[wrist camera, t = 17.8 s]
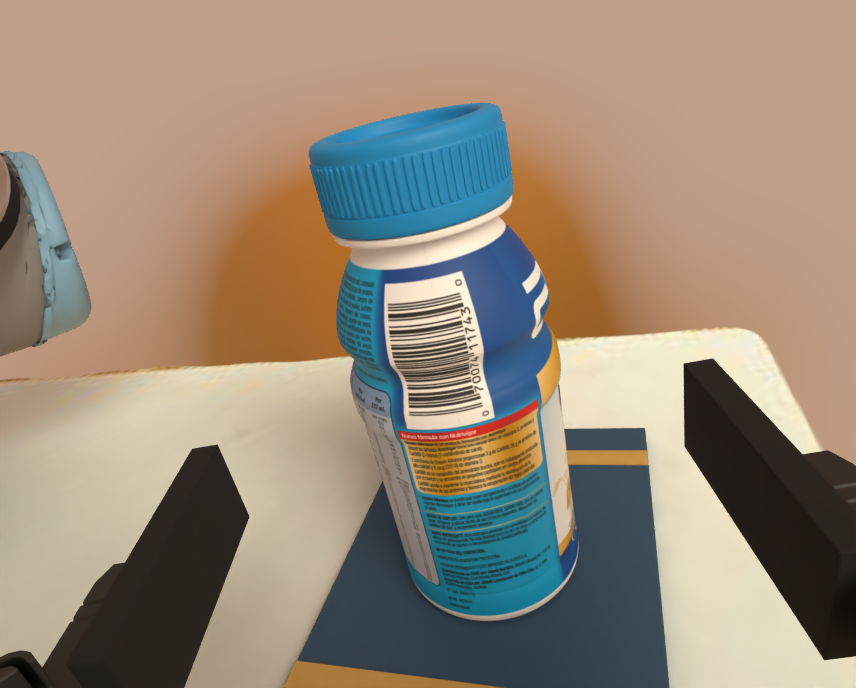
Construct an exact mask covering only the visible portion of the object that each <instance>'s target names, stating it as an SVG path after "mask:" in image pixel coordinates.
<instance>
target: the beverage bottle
mask: <svg viewBox="0 0 856 688" xmlns="http://www.w3.org/2000/svg"><path fill="white" fill-rule="evenodd" d="M309 158H310V162H311V165H310V169H311V173H312V177H313V180H314V184H315V187H316V191H317V194H318V198H319V201H320V204H321V208H322V212H324V217H325V221H326V224H327V227H328V229H329V231H330V232H331V233H332V234H333V237H334V240H335V241H336V242H337V243H339V244H340V245H343V246H346V247H352V252H351V254H350V257H349V259H348V262H347V265H346V268H345V271H344V274H343V277H342V281H341V285H340V290H339V294H338V300H337V314H336V316H337V317H336V324H337V334H338V338H339V341H340V344H341V345H342V347H343V349H344V350H345V351H346V352H347V353H348V354H349V355H350V356H351V357H352V358H354V362H353V366H352V371H351V377H350V382H351V390H352V395H353V399H354V402H355V405H356V408H357V411H358V413H359V415H360V416H361V418H362V419H363V421H364V422H365V425H366V429H367V432H368V435H369V438H370V441H371V444H372V448H373V451H374V454H375V457H376V460H377V464H378V467H379V470H380V473H381V476H382V479H383V483H384V486H385V489H386V492H387V495H388V499H389V502H390V505H391V508H392V511H393V515H394V518H395V521H396V524H397V528H398V531H399V534H400V538H401V541H402V544H403V548H404V551H405V556H406V560H407V564H408V567H409V570H410V574H411V576H412V579H413V581H414V583H415V584H416V586H417V588H418V589H419V591H420V592H421V593H422V594H423V595H424V596H425V597H426V598H427V599H428V600H429V601H430V602H431V603H432V604H434V605H435V606H436V607H438V608H440V609H441V610H443V611H445V612H447V613H449V614H452V615H454V616H457V617H461V618H465V619H470V620H477V621H497V620H505V619H510V618H514V617H517V616H521V615H523V614H526V613H528V612H531V611H533V610H535V609H537V608H539V607H540V606H542V605H543V604H545V603H546V602H548V601H549V600H550V599H552V598H553V597H554V596H555V595H556V594H557V593H558V592H559V591H560V590H561V589H562V588H563V586H564V585H565V584H566V582H567V581H568V579H569V578H570V576H571V574H572V572H573V570H574V567H575V565H576V561H577V557H578V548H579V543H578V533H577V526H576V521H575V517H574V508H573V501H572V493H571V485H570V477H569V468H568V459H567V450H566V442H565V433H564V424H563V415H562V406H561V397H560V388H559V380H560V375H561V362H560V354H559V349H558V345H557V341H556V338H555V336H554V334H553V332H552V331H551V329H550V328H549V327H548V325H547V324H546V323H545V322H544V321H543V317H544V315H545V313H546V311H547V308H548V304H549V291H548V288H547V284H546V281H545V279H544V276H543V274H542V272H541V270H540V268H539V266H538V264H537V262H536V260H535V259H534V257H533V256H532V254H531V253H530V251H529V250H528V248H527V247H526V246H525V244H524V243H523V242H522V241H521V239H520V238H519V237H518V236H517V235H516V234H515V233H514V231H513V230H512V229H511V228H510V227H509V226H508V225H507V224H506V223H505V222H504V221H503V220H501V219H500V217H499V215H501V214H502V213H503V212H505V211H506V210H507V209H508V208H509V206H510V205H511V203H512V193H513V179H512V173H511V171H512V169H511V161H510V155H509V147H508V140H507V133H506V125H505V122H504V121H503V120H502V114H501V110H500V108H499V107H498V106H497V105H495V104H491V103H472V104H463V105H455V106H448V107H442V108H436V109H431V110H426V111H421V112H416V113H411V114H407V115H402V116H397V117H393V118H389V119H385V120H381V121H377V122H373V123H369V124H366V125H362V126H359V127H355V128H352V129H348V130H345V131H342V132H339V133H336V134H333V135H331V136H328V137H326V138H323V139H321V140H319V141H317V142H316V143H314V144H313V145H312V146H311V147H310V149H309Z"/></svg>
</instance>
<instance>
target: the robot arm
mask: <svg viewBox="0 0 856 688" xmlns="http://www.w3.org/2000/svg"><path fill="white" fill-rule="evenodd" d="M90 311H91V301H90V297H89V293H88V289H87V286H86V283H85V280H84V277H83V274H82V271H81V268H80V265H79V263H78V260H77V257H76V255H75V252H74V250H73V249H72V247H71V242H70V239H69V236H68V234H67V230H66V227H65V224H64V222H63V219H62V216H61V214H60V211H59V209H58V206H57V203H56V201H55V199H54V196H53V194H52V191H51V189H50V186H49V184H48V181H47V179H46V177H45V175H44V172H43V170H42V168H41V166H40V164H39V162H38V161H37V159H36V158H35V157H34V156H33V155H31V154H28V153H26V152H14V153H13V152H10V151H4V152H0V356H3V355H6V354H9V353H12V352H15V351H18V350H21V349H24V348H27V347H30V346H32V347H36V346H39V345H42V344H44V343H45V342H47V340H48V339H50V338H52V337H55V336H57V335H60V334H62V333H65V332H67V331H70V330H72V329H75V328H77V327H79V326H80V325H82V324H83V323H84V322H85V321H86V320H87V318H88V317H89V314H90ZM684 436H685V448H686V449H687V451H688V452H689V454H690V455H691V457H692V458H693V460H694V461H695V463H696V464H697V466H698V468H699V469H700V471H701V472H702V474H703V475H704V477H705V478H706V480H707V481H708V483H709V484H710V486H711V487H712V489H713V491H714V492H715V494H716V495H717V497H718V498H719V500H720V501H721V503H722V504H723V506H724V507H725V509H726V510H727V512H728V513H729V515H730V517H731V518H732V520H733V521H734V523H735V524H736V526H737V527H738V529H739V530H740V532H741V533H742V535H743V536H744V538H745V539H746V541H747V543H748V544H749V546H750V547H751V549H752V550H753V552H754V553H755V555H756V556H757V558H758V559H759V561H760V562H761V564H762V566H763V567H764V569H765V570H766V572H767V573H768V575H769V576H770V578H771V579H772V581H773V582H774V584H775V585H776V587H777V588H778V590H779V592H780V593H781V595H782V596H783V598H784V599H785V601H786V602H787V604H788V605H789V607H790V608H791V610H792V611H793V613H794V614H795V616H796V618H797V619H798V621H799V622H800V624H801V625H802V627H803V628H804V630H805V631H806V633H807V634H808V636H809V637H810V639H811V641H812V642H813V644H814V645H815V647H816V648H817V650H818V651H819V653H820V654H821V656H822V657H823V659H824V660H830V659H837V658H845V657H853V656H856V466H855V465H854V464H853V463H851V462H849V461H847V460H845V459H843V458H841V457H839V456H837V455H836V454H834V453H832V452H830V451H821V452H815V453H809V454H802V453H801V452H800V451H799V450H798V449H797V448H796V447H795V446H794V445H793V444H792V443H791V442H790V441H789V439H788V438H787V437H786V436H785V435H784V434H783V433H782V432H781V431H780V430H779V429H778V428H777V427H776V426H775V424H774V423H773V422H772V421H771V420H770V419H769V418H768V417H767V416H766V415H765V414H764V413H763V412H762V411H761V409H760V408H759V407H758V406H757V405H756V404H755V403H754V402H753V401H752V400H751V399H750V398H749V397H748V396H747V394H746V393H745V392H744V391H743V390H742V389H741V388H740V387H739V386H738V385H737V384H736V383H735V382H734V381H733V379H732V378H731V377H730V376H729V375H728V374H727V373H726V372H725V371H724V370H723V369H722V368H721V367H720V366H719V364H718V363H717V362H716V361H715V360H714V359H707V360H701V361H696V362H690V363H684ZM248 519H249V515H248V512H247V510H246V508H245V506H244V503H243V501H242V499H241V496H240V494H239V492H238V490H237V487H236V485H235V483H234V481H233V478H232V476H231V474H230V472H229V469H228V467H227V465H226V463H225V460H224V458H223V456H222V454H221V451H220V449H219V447H218V445H212V446H206V447H201V448H195V449H192V450H191V452H190V454H189V455H188V457H187V459H186V460H185V462H184V464H183V465H182V467H181V469H180V471H179V472H178V474H177V476H176V477H175V479H174V481H173V482H172V484H171V486H170V487H169V489H168V491H167V493H166V494H165V496H164V498H163V499H162V501H161V503H160V504H159V506H158V508H157V509H156V511H155V513H154V515H153V516H152V518H151V520H150V521H149V523H148V525H147V526H146V528H145V530H144V532H143V533H142V535H141V537H140V538H139V540H138V542H137V543H136V545H135V547H134V548H133V550H132V552H131V554H130V555H129V557H128V559H127V560H126V562H125V563H120V564H114V565H113V566H112V567H111V568H110V569H109V570H108V571H107V572H106V573H105V574H104V575H103V576H102V577H101V578H100V579H98V580H97V581H96V582H95V584H94V585H93V587H92V589H91V590H90V592H89V594H88V595H87V597H86V598H85V600H84V602H83V606H80V608H79V610H78V611H77V613H76V614H75V616H74V618H73V619H74V620H73V622H70V624H69V626H68V627H67V629H66V630H65V632H64V634H63V635H62V637H61V638H60V640H59V642H58V643H57V645H56V646H55V648H54V650H53V651H52V653H51V654H50V656H49V658H48V659H47V661H46V662H45V664H44V666H43V667H41V665H40V664H39V663H38V662H37V660H36V659H35V658H34V656H33V655H32V654H31V652H27V651H16V652H12V653H8V654H6V655H4V656H2V657H0V688H184V687H185V684H186V682H187V679H188V676H189V674H190V671H191V669H192V666H193V663H194V661H195V658H196V656H197V653H198V650H199V648H200V645H201V642H202V640H203V637H204V635H205V632H206V629H207V627H208V624H209V621H210V619H211V616H212V614H213V611H214V608H215V606H216V603H217V600H218V598H219V595H220V593H221V590H222V587H223V585H224V582H225V579H226V577H227V574H228V572H229V569H230V566H231V564H232V561H233V558H234V556H235V553H236V551H237V548H238V545H239V543H240V540H241V537H242V535H243V532H244V530H245V527H246V524H247V522H248Z"/></svg>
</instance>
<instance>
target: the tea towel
mask: <svg viewBox="0 0 856 688" xmlns="http://www.w3.org/2000/svg"><path fill="white" fill-rule="evenodd" d="M564 433H565V442H566V450H567V459H568V468H569V477H570V485H571V493H572V501H573V508H574V517H575V521H576V526H577V533H578V543H579V548H578V557H577V561H576V565H575V567H574V570H573V572H572V574H571V576H570V578H569V579H568V581H567V582H566V584H565V585H564V586H563V588H562V589H561V590H560V591H559V592H558V593H557V594H556V595H555V596H554V597H553V598H552V599H550V600H549V601H548V602H546V603H545V604H543V605H542V606H540V607H539V608H537V609H535V610H533V611H531V612H528V613H526V614H523V615H521V616H517V617H514V618H510V619H505V620H497V621H477V620H470V619H465V618H461V617H457V616H454V615H452V614H449V613H447V612H445V611H443V610H441V609H440V608H438V607H436V606H435V605H434V604H432V603H431V602H430V601H429V600H428V599H427V598H426V597H425V596H424V595H423V594H422V593H421V592H420V591H419V589H418V588H417V586H416V584H415V583H414V581H413V579H412V576H411V574H410V570H409V567H408V564H407V560H406V556H405V551H404V548H403V544H402V541H401V538H400V534H399V531H398V528H397V524H396V521H395V518H394V515H393V511H392V508H391V505H390V502H389V499H388V495H387V492H386V489H385V486H384V483H383V482H382V484H381V486H380V488H379V490H378V492H377V494H376V496H375V498H374V501H373V503H372V505H371V507H370V509H369V511H368V513H367V515H366V517H365V520H364V522H363V524H362V526H361V528H360V530H359V532H358V534H357V536H356V538H355V541H354V543H353V545H352V547H351V549H350V551H349V553H348V555H347V557H346V560H345V562H344V564H343V566H342V568H341V570H340V572H339V574H338V576H337V578H336V581H335V583H334V585H333V587H332V589H331V591H330V593H329V595H328V597H327V600H326V602H325V604H324V606H323V608H322V610H321V612H320V614H319V616H318V618H317V621H316V623H315V625H314V627H313V629H312V631H311V633H310V635H309V637H308V640H307V642H306V644H305V646H304V648H303V650H302V652H301V654H300V656H299V658H298V661H296V662H295V664H294V666H293V668H292V670H291V672H290V674H289V677H288V679H287V681H286V683H285V685H284V687H283V688H669V678H668V667H667V656H666V646H665V635H664V625H663V614H662V603H661V593H660V582H659V572H658V561H657V550H656V540H655V529H654V519H653V508H652V497H651V487H650V476H649V466H648V454H647V444H646V434H645V428H612V429H564Z"/></svg>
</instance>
